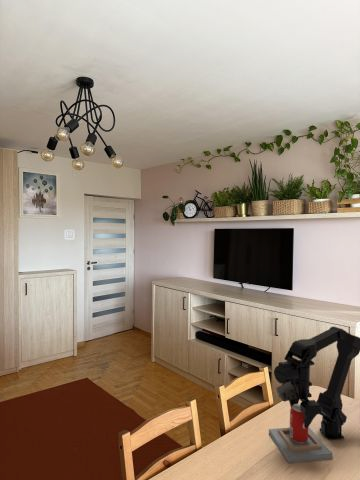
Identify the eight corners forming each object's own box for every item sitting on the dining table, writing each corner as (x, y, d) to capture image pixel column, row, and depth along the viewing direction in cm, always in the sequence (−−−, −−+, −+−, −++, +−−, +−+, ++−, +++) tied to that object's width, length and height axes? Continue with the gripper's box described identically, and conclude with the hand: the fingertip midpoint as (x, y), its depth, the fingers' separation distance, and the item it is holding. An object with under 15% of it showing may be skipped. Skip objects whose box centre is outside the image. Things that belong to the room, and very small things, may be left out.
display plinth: (308, 431, 133) (308, 423, 133) (332, 458, 117) (332, 449, 117) (268, 434, 131) (269, 426, 131) (288, 462, 115) (288, 453, 115)
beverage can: (309, 446, 121) (310, 413, 120) (290, 443, 122) (291, 410, 121) (306, 435, 127) (307, 403, 126) (288, 433, 128) (289, 402, 128)
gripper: (269, 368, 131) (268, 408, 132) (292, 391, 113) (291, 437, 113) (296, 366, 133) (295, 406, 133) (323, 389, 114) (322, 435, 115)
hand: (299, 420), depth 124 cm, fingers open, 9 cm apart
